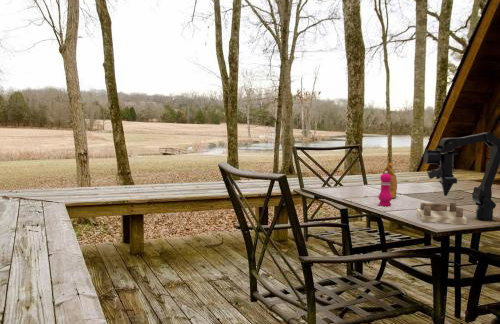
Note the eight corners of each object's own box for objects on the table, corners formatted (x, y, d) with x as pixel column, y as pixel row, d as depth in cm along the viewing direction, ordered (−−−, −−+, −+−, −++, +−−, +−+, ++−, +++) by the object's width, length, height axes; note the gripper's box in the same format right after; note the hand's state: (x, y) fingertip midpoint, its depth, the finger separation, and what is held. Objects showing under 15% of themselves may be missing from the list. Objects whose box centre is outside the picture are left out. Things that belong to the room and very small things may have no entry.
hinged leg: (420, 209, 212) (421, 203, 212) (419, 208, 215) (420, 202, 215) (446, 210, 209) (447, 205, 209) (445, 209, 212) (445, 203, 212)
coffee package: (398, 196, 270) (400, 162, 268) (394, 199, 259) (395, 164, 257) (383, 195, 275) (384, 162, 273) (378, 198, 264) (379, 163, 262)
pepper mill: (388, 204, 244) (390, 170, 242) (393, 206, 237) (394, 171, 235) (376, 204, 244) (377, 170, 242) (380, 206, 236) (382, 171, 235)
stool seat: (456, 216, 212) (457, 202, 211) (466, 224, 194) (466, 209, 193) (416, 214, 217) (417, 200, 216) (422, 222, 198) (422, 207, 198)
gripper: (425, 162, 214) (424, 192, 215) (432, 165, 196) (430, 198, 197) (449, 162, 211) (448, 193, 213) (458, 165, 193) (456, 199, 195)
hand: (445, 195), depth 204 cm, fingers closed
